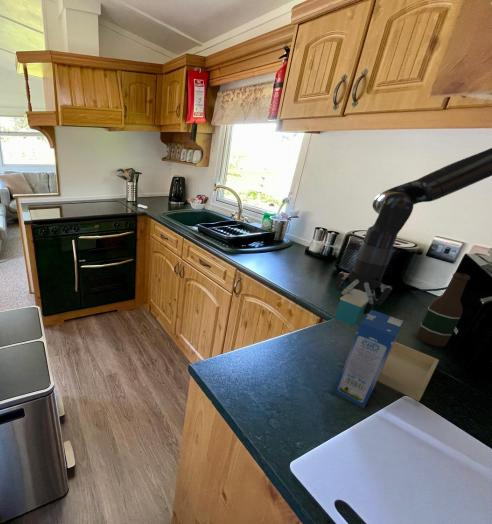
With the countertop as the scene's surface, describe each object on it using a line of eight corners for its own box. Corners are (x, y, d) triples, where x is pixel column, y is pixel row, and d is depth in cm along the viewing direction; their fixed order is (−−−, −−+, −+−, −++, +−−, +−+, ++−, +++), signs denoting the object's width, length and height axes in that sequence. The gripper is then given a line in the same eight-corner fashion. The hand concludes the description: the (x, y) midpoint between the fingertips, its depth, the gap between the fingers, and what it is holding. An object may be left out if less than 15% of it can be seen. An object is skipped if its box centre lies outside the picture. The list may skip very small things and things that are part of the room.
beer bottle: (451, 350, 92) (488, 281, 83) (421, 343, 94) (454, 276, 85) (437, 336, 98) (469, 272, 90) (409, 331, 101) (439, 267, 92)
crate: (434, 369, 82) (439, 359, 81) (417, 404, 69) (423, 393, 68) (369, 341, 93) (373, 332, 92) (344, 366, 81) (348, 357, 79)
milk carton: (345, 374, 78) (371, 309, 70) (373, 388, 73) (404, 320, 66) (333, 392, 71) (360, 322, 64) (363, 408, 67) (396, 335, 60)
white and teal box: (367, 315, 95) (375, 295, 92) (354, 327, 87) (362, 305, 85) (347, 308, 99) (354, 288, 96) (333, 318, 92) (340, 297, 89)
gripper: (405, 265, 83) (384, 315, 89) (349, 250, 94) (333, 297, 99) (398, 269, 79) (377, 322, 85) (340, 254, 89) (324, 302, 95)
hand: (353, 308), depth 92 cm, fingers closed on white and teal box, 6 cm apart
